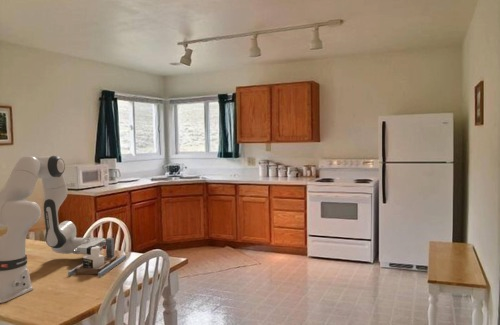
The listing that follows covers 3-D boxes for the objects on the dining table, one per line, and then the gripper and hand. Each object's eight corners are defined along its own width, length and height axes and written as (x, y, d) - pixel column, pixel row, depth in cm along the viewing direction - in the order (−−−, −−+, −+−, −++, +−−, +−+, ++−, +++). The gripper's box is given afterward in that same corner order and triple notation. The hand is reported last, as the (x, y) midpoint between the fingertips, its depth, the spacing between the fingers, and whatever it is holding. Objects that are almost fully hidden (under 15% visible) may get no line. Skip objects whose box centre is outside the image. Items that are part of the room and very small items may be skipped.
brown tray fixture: (99, 274, 188) (98, 251, 187) (75, 273, 189) (74, 250, 188) (122, 257, 213) (122, 238, 212) (101, 257, 214) (100, 237, 214)
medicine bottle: (82, 271, 193) (82, 247, 192) (94, 267, 199) (93, 244, 198) (92, 273, 190) (92, 249, 189) (104, 269, 196) (103, 245, 195)
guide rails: (100, 276, 185) (100, 272, 184) (68, 276, 186) (68, 271, 186) (126, 258, 213) (126, 254, 213) (98, 257, 215) (98, 254, 215)
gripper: (70, 245, 203) (96, 245, 202) (90, 235, 223) (114, 236, 222) (71, 257, 203) (96, 257, 202) (91, 246, 224) (114, 247, 222)
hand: (105, 246), depth 212 cm, fingers open, 8 cm apart
